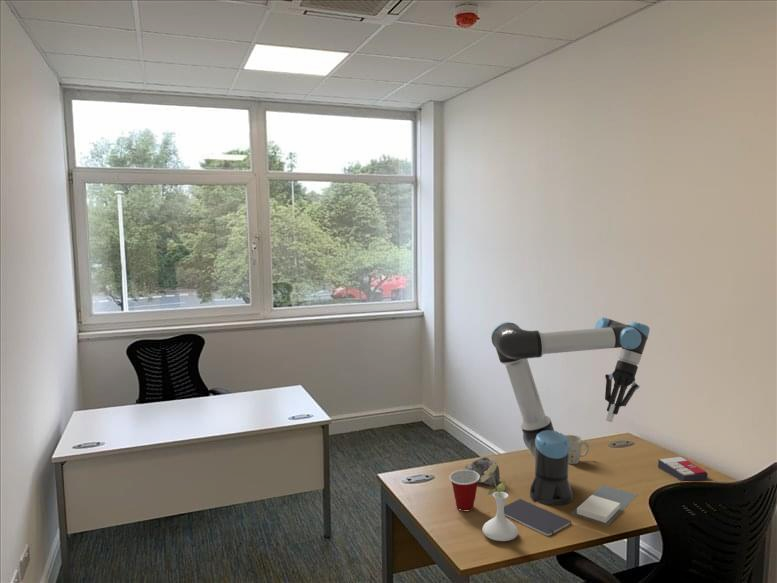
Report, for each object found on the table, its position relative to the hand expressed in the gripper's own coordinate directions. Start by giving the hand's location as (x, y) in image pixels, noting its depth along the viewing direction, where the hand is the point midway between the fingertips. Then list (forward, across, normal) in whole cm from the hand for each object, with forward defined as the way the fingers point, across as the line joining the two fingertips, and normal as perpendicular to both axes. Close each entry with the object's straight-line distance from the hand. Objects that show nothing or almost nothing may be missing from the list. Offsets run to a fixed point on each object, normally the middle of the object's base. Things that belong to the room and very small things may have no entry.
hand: (609, 421), depth 223 cm
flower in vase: (+43, +4, +50) cm, 66 cm away
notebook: (+38, +2, +33) cm, 50 cm away
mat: (+28, -11, +9) cm, 31 cm away
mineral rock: (+39, +32, +20) cm, 54 cm away
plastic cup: (+44, +23, +42) cm, 65 cm away
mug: (+23, +16, -20) cm, 34 cm away
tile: (+26, -11, +10) cm, 30 cm away
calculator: (+13, -20, -36) cm, 43 cm away
